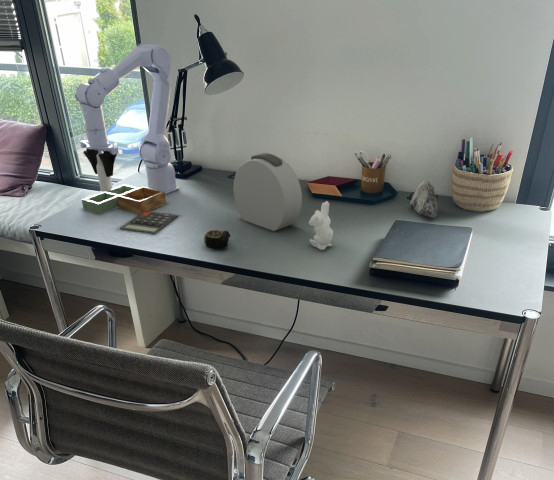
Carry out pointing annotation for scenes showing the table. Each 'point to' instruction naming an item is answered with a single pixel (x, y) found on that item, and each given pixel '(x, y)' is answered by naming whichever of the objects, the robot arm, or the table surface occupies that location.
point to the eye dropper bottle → (103, 176)
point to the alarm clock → (267, 192)
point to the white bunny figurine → (321, 227)
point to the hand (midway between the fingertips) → (104, 174)
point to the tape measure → (216, 239)
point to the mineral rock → (425, 200)
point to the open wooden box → (141, 200)
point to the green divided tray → (105, 199)
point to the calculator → (149, 222)
